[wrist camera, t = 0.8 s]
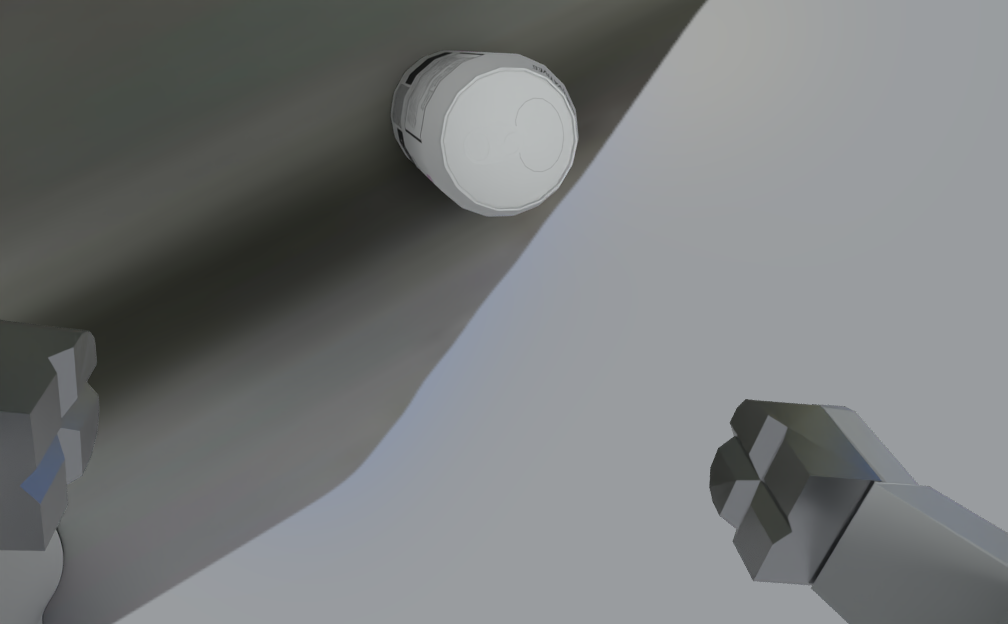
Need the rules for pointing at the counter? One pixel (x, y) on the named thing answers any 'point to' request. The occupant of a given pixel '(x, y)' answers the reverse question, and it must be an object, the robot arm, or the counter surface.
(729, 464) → the robot arm
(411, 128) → the supplement can
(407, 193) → the counter surface
